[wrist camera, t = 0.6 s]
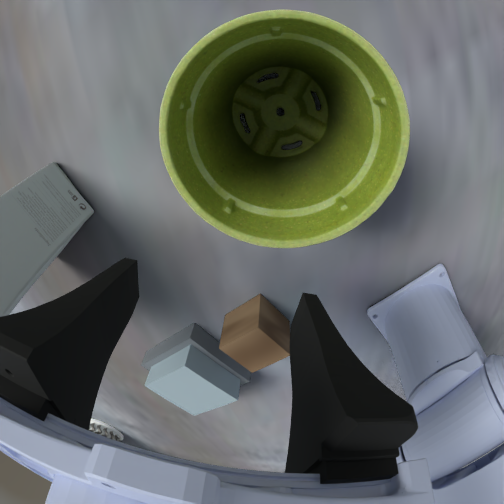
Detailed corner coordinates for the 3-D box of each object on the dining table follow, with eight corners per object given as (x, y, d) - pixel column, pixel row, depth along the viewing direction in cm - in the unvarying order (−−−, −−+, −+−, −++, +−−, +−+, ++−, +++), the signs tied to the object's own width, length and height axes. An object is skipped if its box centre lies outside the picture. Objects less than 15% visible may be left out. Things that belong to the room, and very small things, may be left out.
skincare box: (55, 159, 20) (-90, 260, 7) (100, 213, 22) (-21, 350, 9) (18, 216, 22) (-85, 314, 10) (55, 261, 25) (-33, 376, 12)
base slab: (251, 362, 31) (249, 381, 28) (200, 384, 34) (196, 401, 31) (195, 318, 28) (190, 338, 26) (147, 347, 31) (141, 365, 29)
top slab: (240, 379, 28) (238, 400, 26) (197, 396, 31) (194, 415, 29) (190, 344, 26) (184, 365, 24) (151, 366, 29) (144, 385, 26)
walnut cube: (289, 320, 26) (290, 355, 23) (254, 339, 28) (252, 372, 25) (260, 292, 25) (258, 327, 22) (225, 314, 27) (218, 348, 23)
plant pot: (371, 158, 19) (428, 210, 11) (240, 201, 21) (220, 275, 13) (324, 25, 14) (362, -15, 7) (183, 76, 17) (120, 76, 9)
